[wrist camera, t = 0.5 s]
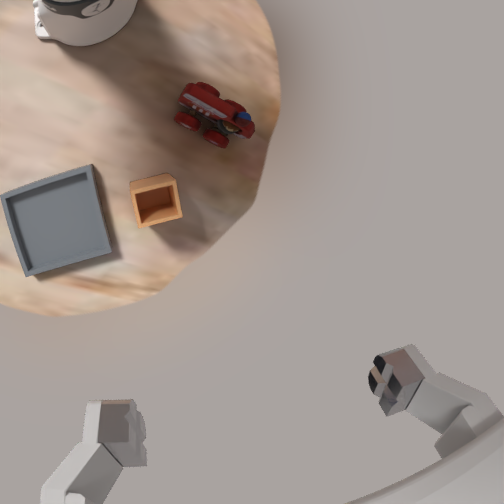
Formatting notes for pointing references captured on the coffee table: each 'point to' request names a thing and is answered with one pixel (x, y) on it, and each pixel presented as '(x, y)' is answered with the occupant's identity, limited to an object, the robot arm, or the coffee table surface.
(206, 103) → the toy fire truck
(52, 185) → the tray
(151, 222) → the box
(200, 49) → the coffee table surface
